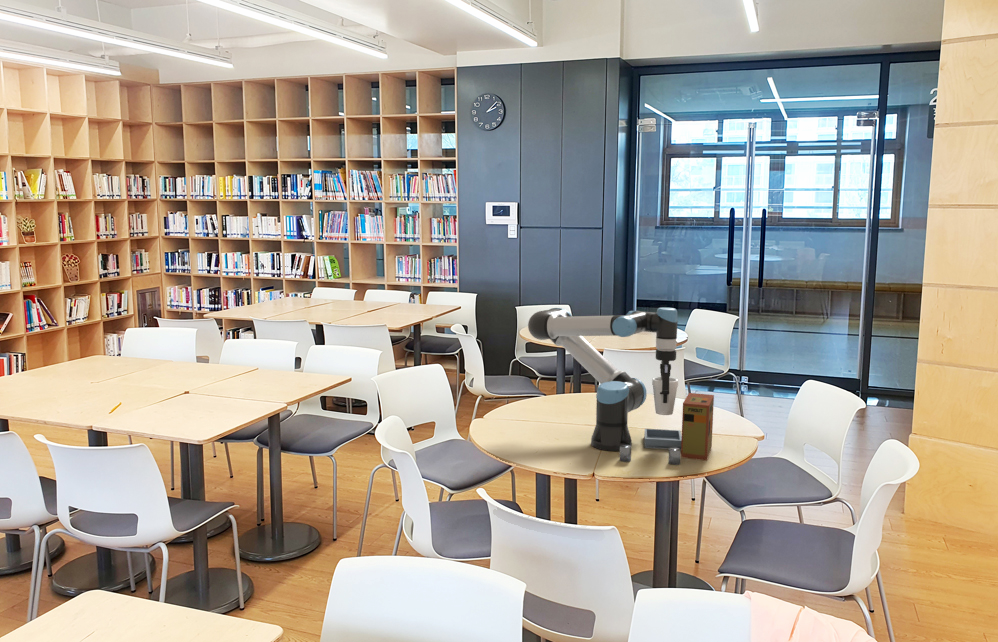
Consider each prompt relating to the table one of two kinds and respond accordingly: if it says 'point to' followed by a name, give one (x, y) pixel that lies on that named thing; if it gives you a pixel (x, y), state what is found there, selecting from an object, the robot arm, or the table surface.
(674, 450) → the shiny gray cylinder
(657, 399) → the foam cup
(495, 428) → the table surface
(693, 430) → the box
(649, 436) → the tray
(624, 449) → the metal cylinder
